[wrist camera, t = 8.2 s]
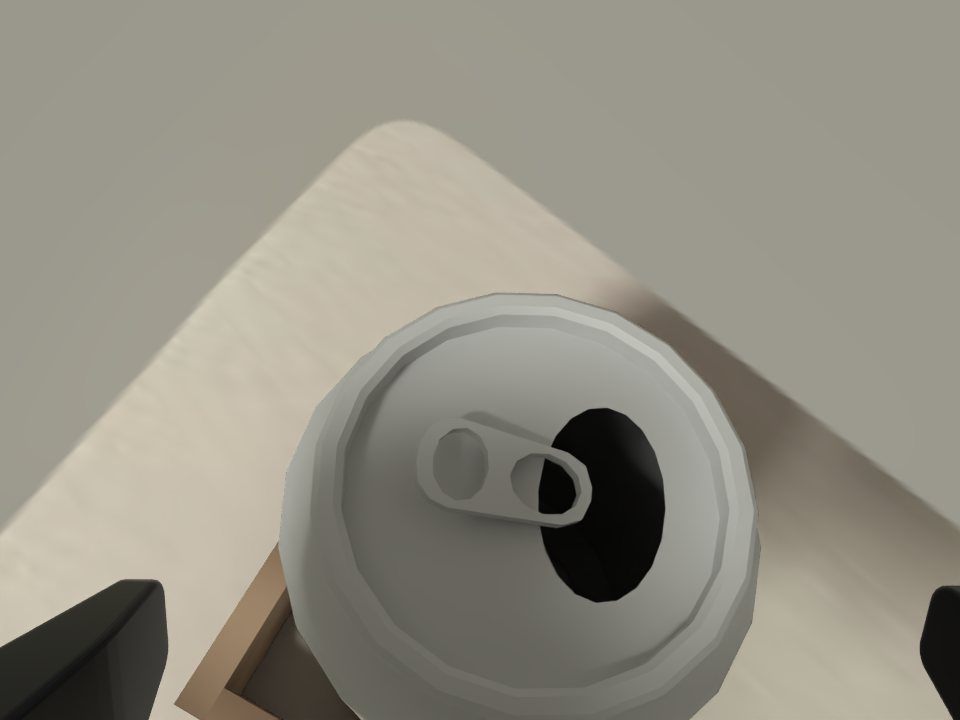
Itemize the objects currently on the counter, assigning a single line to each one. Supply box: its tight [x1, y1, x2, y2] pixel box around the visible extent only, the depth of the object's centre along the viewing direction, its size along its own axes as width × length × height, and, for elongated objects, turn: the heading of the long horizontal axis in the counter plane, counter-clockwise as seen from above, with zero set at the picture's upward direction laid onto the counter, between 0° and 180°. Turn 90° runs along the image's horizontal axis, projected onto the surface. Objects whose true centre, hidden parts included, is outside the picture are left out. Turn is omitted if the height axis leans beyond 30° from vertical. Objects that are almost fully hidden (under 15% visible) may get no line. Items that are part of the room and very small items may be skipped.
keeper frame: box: [174, 541, 292, 720], centre depth 20 cm, size 11×11×2 cm
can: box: [278, 293, 761, 720], centre depth 16 cm, size 8×8×12 cm
